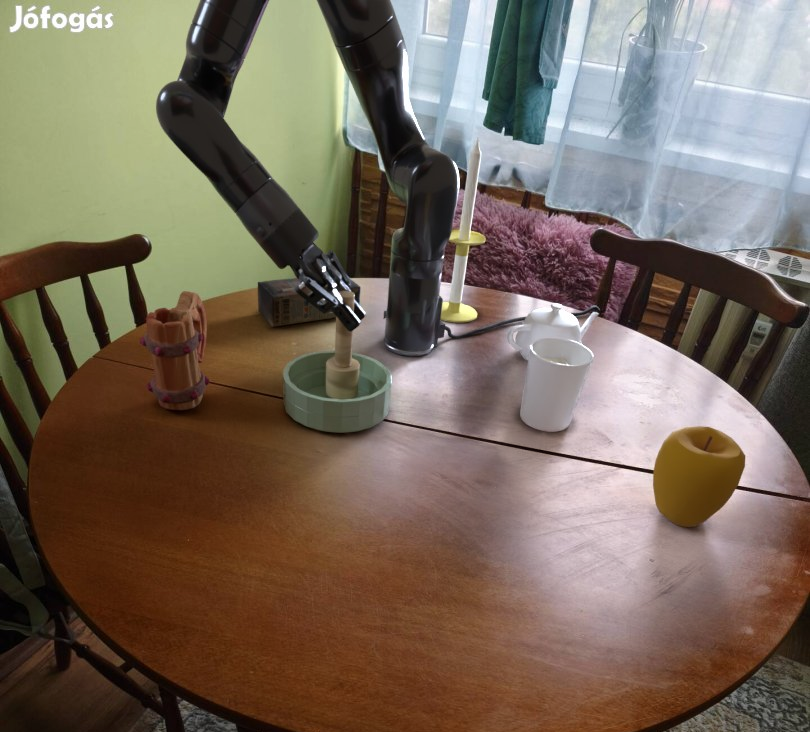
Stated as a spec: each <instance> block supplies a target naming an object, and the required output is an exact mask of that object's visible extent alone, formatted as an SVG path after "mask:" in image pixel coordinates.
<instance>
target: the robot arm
mask: <svg viewBox="0 0 810 732" xmlns="http://www.w3.org/2000/svg"><path fill="white" fill-rule="evenodd" d="M269 2H270V0H199V1H198V5H197V7H196V10H195V12H194V15H193V18H192V21H191V23H190V26H189V29H188V31H187V35H186V39H185V51H186V52H185V58H184V59H183V64H182V65H181V69H180V72H179V75H178V77H177V80H173V81H169V82H168V83H166V84H165V85H164V86H163V87H162V88H161V89H160V90H159V93H158V94H157V97H156V101H155V112H156V118H157V119H158V123H159V126H160V127H161V130H162V131H163V132H164V134H165V135H166V136H167V137H168V138H169V140H170V141H171V142H172V143H173V144H174V145H175V146H176V147H177V149H178V150H179V151H180V152H181V153H182V154H183V155H184V156H185V157H186V159H188V160H189V161H190V162H191V163H192V165H194V167H196V169H197V170H199V172H200V173H202V174H203V175H204V177H206V179H207V180H208V182H209V183H210V184H211V185H212V187H213V189H214V190H215V191H216V192H217V193H218V195H219V196H220V197H221V198H222V200H223V201H224V202H225V203H226V204H227V206H228V207H229V208H230V209H231V211H233V213H234V214H235V215H236V217H237V218H238V219H239V221H240V222H241V224H242V226H243V227H244V228H245V230H246V231H247V233H249V235H250V236H251V237H252V238H253V239H254V240H255V242H256V243H257V244H258V245H259V246H260V248H261V249H262V250H263V251H264V252H265V254H266V255H267V256H268V257H269V258H270V260H271V261H272V262H273V263H274V264H275V265H276V266H277V268H278V269H280V270H284V269H285V268H287V267H290V269H291V271H292V272H293V274H294V276H295V278H298V279H299V285H298V286H296V287H295V291H296V292H297V293H298V294H299V295H300V296H301V297H303V298H304V299H305V300H307V301H308V302H309V303H310V304H312V305H313V306H314V307H316V308H317V309H318V310H320V311H321V312H322V313H323V314H326V313H328V312H330V313H334V314H335V315H336V317H337V318H338V319H339V320H340V321H341V323H342V324H343V325H344V326H345V327H346V329H347V330H348V331H350V332H351V331H353V332H354V331H355V330H356V329H357V328H358V327H360V324H361V321H362V320H363V319H364V318H365V317H366V314H367V313H366V311H365V310H364V309H363V307H362V306H361V304H360V305H359V304H358V303H357V301H356V300H355V299H354V312H353V311H352V310H351V309H350V307H349V306H348V305H347V304H346V303H344V300H343V299H342V297H341V296H340V295H339V293H338V292H339V291H350V292H351V290H350V288H349V287H350V286H351V282H350V280H349V279H348V277H349V276H348V274H347V273H346V271H345V270H344V267H343V266H342V263H341V262H340V260H339V258H338V257H337V255H336V253H335V252H334V250H329V251H328V252H327V253H325V252H324V251H323V250H322V249H321V248H320V247H319V246H317V244H315V243H314V242H315V241H316V240H317V239H318V238H319V237H320V234H319V233H320V232H319V231H318V230H317V228H316V227H315V226H314V224H313V223H312V222H311V221H310V219H309V218H308V217H307V215H306V214H305V213H304V212H303V210H302V209H301V208H300V207H299V206H298V204H297V202H295V200H294V199H293V198H292V197H291V195H290V194H289V193H288V191H287V190H285V188H284V187H282V185H280V184H279V183H278V182H277V180H275V179H274V178H273V176H272V175H271V173H270V172H269V171H268V169H267V168H266V167H265V166H264V165H263V163H262V161H260V160H259V158H258V157H257V156H256V155H255V154H254V153H253V152H252V150H250V149H249V147H247V146H246V144H244V143H243V142H242V141H241V140H240V139H239V137H238V136H237V134H236V133H235V131H234V130H233V129H232V128H231V126H230V125H229V124H228V122H227V121H226V119H225V115H226V112H227V109H228V105H229V102H230V99H231V97H232V92H233V89H234V85H235V82H236V78H237V77H238V74H239V73H240V70H241V69H242V66H243V65H244V62H245V60H246V58H247V55H248V53H249V50H250V48H251V46H252V43H253V41H254V38H255V36H256V33H257V31H258V28H259V25H260V24H261V22H262V19H263V16H264V14H265V11H266V9H267V7H268V5H269ZM316 2H317V5H318V7H319V10H320V12H321V14H322V17H323V19H324V22H325V25H326V27H327V29H328V33H329V35H330V37H331V40H332V43H333V45H334V47H335V50H336V52H337V54H338V57H339V59H340V62H341V64H342V67H343V69H344V71H345V73H346V75H347V77H348V80H349V82H350V84H351V86H352V88H353V91H354V93H355V96H356V99H357V100H358V102H359V105H360V107H361V109H362V111H363V114H364V116H365V118H366V120H367V122H368V125H369V126H370V129H371V131H372V134H373V137H374V140H375V143H376V146H377V150H378V153H379V156H380V159H381V164H382V165H383V169H384V173H385V175H386V179H387V183H388V186H389V188H390V189H391V192H392V193H393V194H394V195H395V197H396V198H397V199H398V200H399V201H400V202H401V203H403V204H404V205H406V211H405V218H404V225H403V227H401V228H397V229H396V230H395V231H393V233H392V236H391V245H390V257H389V258H390V260H389V275H388V287H387V300H386V301H387V302H386V309H385V310H383V320H385V326H384V337H383V346H384V348H386V349H387V350H388V351H390V352H392V353H394V354H397V355H401V356H405V357H420V356H421V357H422V356H425V355H428V354H430V353H431V352H432V351H433V350H434V349H435V348H438V343H439V339H441V338H444V337H445V332H447V336H448V337H449V338H451V339H461V338H467V337H470V336H473V335H476V334H478V333H483V332H486V331H489V330H491V329H494V328H497V327H500V326H504V325H507V324H513V323H517V322H523V321H524V320H525V318H526V317H527V316H528V315H526V316H521V317H516V318H510V319H506V320H501V321H498V322H494V323H492V324H489V325H486V326H482V327H479V328H476V329H473V330H470V331H468V332H465V333H463V334H453V333H452V329H451V328H450V327H449V326H448V325H446V323H445V322H443V321H442V320H441V312H442V304H443V302H444V299H443V297H442V296H441V295H440V292H441V284H442V274H443V266H444V257H445V251H446V247H447V245H448V242H449V239H450V236H451V233H452V229H454V222H455V216H456V211H457V204H458V198H459V191H460V173H459V169H458V166H457V163H456V162H455V160H453V158H452V157H450V155H448V154H446V153H444V152H442V151H440V150H438V149H437V148H434V147H432V146H430V145H429V144H428V142H427V140H426V138H425V137H424V135H423V132H422V130H421V128H420V126H419V123H418V120H417V118H416V115H415V113H414V109H413V107H412V101H411V95H410V67H409V55H408V49H407V44H406V41H405V38H404V35H403V32H402V29H401V26H400V24H399V21H398V18H397V14H396V12H395V8H394V6H393V4H392V1H391V0H316ZM347 276H348V277H347ZM342 280H343V281H342ZM320 301H321V302H322V303H323V304H322V303H321V302H320ZM593 310H595V312H600V311H601V309H600V308H599V306H597V305H592V306H589V308H587V309H585V310H583V311H577V312H569V313H570V314H572V315H574V316H575V317H579V316H584V315H587V314H589V313H590V312H592V311H593Z"/></svg>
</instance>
